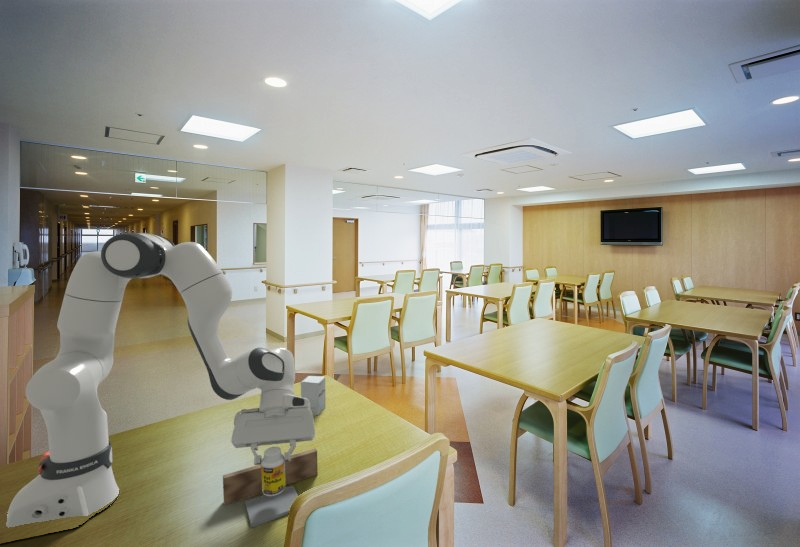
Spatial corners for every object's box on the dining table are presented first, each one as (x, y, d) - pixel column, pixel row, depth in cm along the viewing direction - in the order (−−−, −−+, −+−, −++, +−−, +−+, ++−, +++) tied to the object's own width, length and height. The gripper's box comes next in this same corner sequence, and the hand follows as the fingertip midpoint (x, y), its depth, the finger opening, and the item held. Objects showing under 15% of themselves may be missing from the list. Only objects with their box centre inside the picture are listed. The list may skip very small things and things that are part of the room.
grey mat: (251, 527, 86) (251, 524, 85) (245, 504, 93) (245, 501, 93) (303, 508, 92) (302, 505, 92) (293, 488, 99) (293, 485, 99)
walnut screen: (224, 505, 93) (223, 478, 92) (223, 501, 94) (222, 475, 94) (317, 474, 105) (317, 450, 105) (315, 471, 106) (315, 448, 106)
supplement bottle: (260, 499, 89) (258, 458, 88) (263, 484, 94) (262, 446, 93) (284, 495, 90) (283, 455, 89) (286, 481, 96) (285, 443, 95)
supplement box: (318, 415, 141) (318, 383, 140) (300, 413, 143) (299, 381, 142) (326, 407, 149) (325, 376, 148) (309, 405, 150) (308, 375, 149)
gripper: (233, 405, 95) (224, 464, 87) (314, 398, 99) (314, 454, 91) (237, 414, 100) (230, 470, 91) (315, 407, 104) (315, 461, 95)
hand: (272, 462), depth 91 cm, fingers closed on supplement bottle, 6 cm apart
